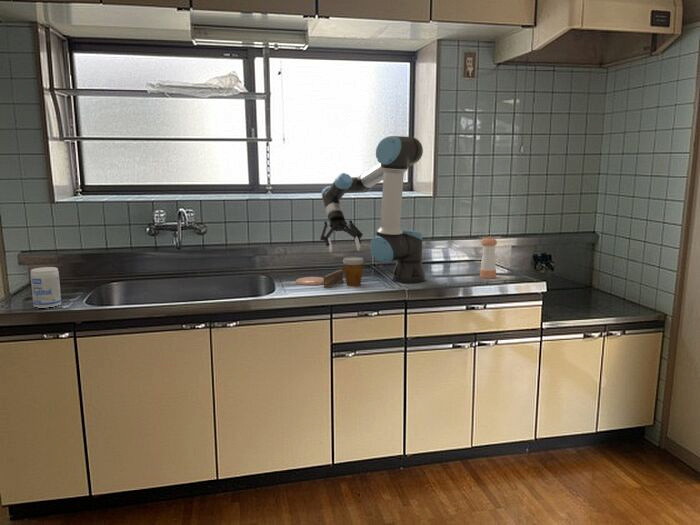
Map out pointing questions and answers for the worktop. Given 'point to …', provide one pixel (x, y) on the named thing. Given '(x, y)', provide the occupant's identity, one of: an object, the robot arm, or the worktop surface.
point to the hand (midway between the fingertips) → (345, 250)
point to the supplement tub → (45, 287)
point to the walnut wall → (333, 278)
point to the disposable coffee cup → (353, 270)
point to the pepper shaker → (488, 258)
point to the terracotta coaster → (310, 281)
